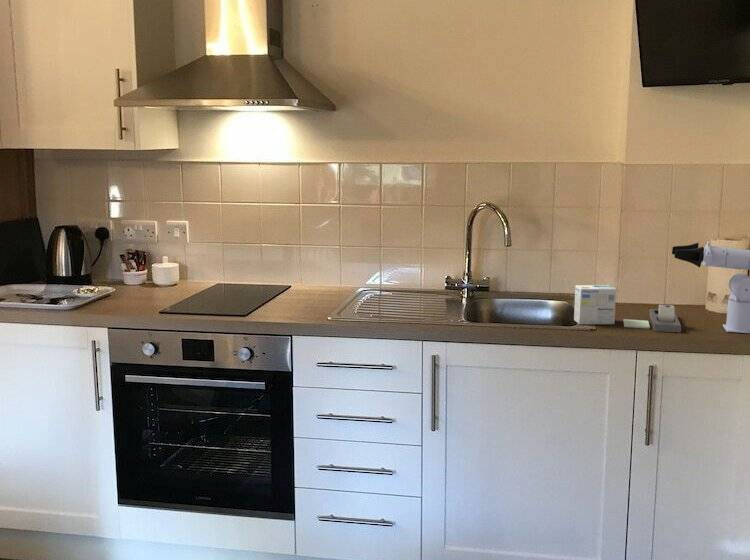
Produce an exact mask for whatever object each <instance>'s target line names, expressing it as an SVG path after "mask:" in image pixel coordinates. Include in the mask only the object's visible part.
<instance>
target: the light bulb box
mask: <svg viewBox="0 0 750 560" xmlns="http://www.w3.org/2000/svg"><path fill="white" fill-rule="evenodd" d="M616 298H617V288H616V287H613V286H612V285H610V284H591V285H590V284H586V285H585V284H584V285H582V284H580V285H578V284H576V285H574V309H573V311H574V313H573V320H574V322H576V323H577V324H578V325H615V319H616V318H615V317H616V303H617V299H616Z"/></svg>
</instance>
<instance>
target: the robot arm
mask: <svg viewBox="0 0 750 560" xmlns="http://www.w3.org/2000/svg"><path fill="white" fill-rule="evenodd" d="M671 248H672V250H671V255H673V256H674V258H675V259H677V260H680V261H684V262H687V263H690V264H693V265H695V266H696V267H698V268H700V267H701V265H702V266H703V267H715V268H721V269H722V268H723V269H733V270H734V269H735V270H747V271H750V249H746V250H745V249H742V248H734V247H724V246H714V245H711V242H710V241H708V240H707V241H706V245H705V246H700V245H699V242H695V243H691V244H688V245H687V244H686V245H675V246H672V247H671ZM728 287H729V290H730V292H731V293H730V295H729V296H728V298H727V309H726V319H725V321H726V323H724V324H722V327H723V328H724V330H725V332H727V333H740V334H741V333H742V334H750V275H748V274H746V273H736V274H733V276H732V277H731V278H730V279H729V282H728Z"/></svg>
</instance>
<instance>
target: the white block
mask: <svg viewBox="0 0 750 560" xmlns="http://www.w3.org/2000/svg"><path fill="white" fill-rule="evenodd" d="M658 309H659V310H658V321H667V322H674V312H675V313H676V311H675V310H676V309H675V305H672V304H658Z"/></svg>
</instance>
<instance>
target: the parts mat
mask: <svg viewBox="0 0 750 560" xmlns="http://www.w3.org/2000/svg"><path fill="white" fill-rule="evenodd" d="M622 321H623V327H624V328H635V329H637V328H638V329H650V328H651V326H650V322H649V320H644V319H643V320H642V319H641V320H639V319H626V318H625V319H624V318H623V320H622Z"/></svg>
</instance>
